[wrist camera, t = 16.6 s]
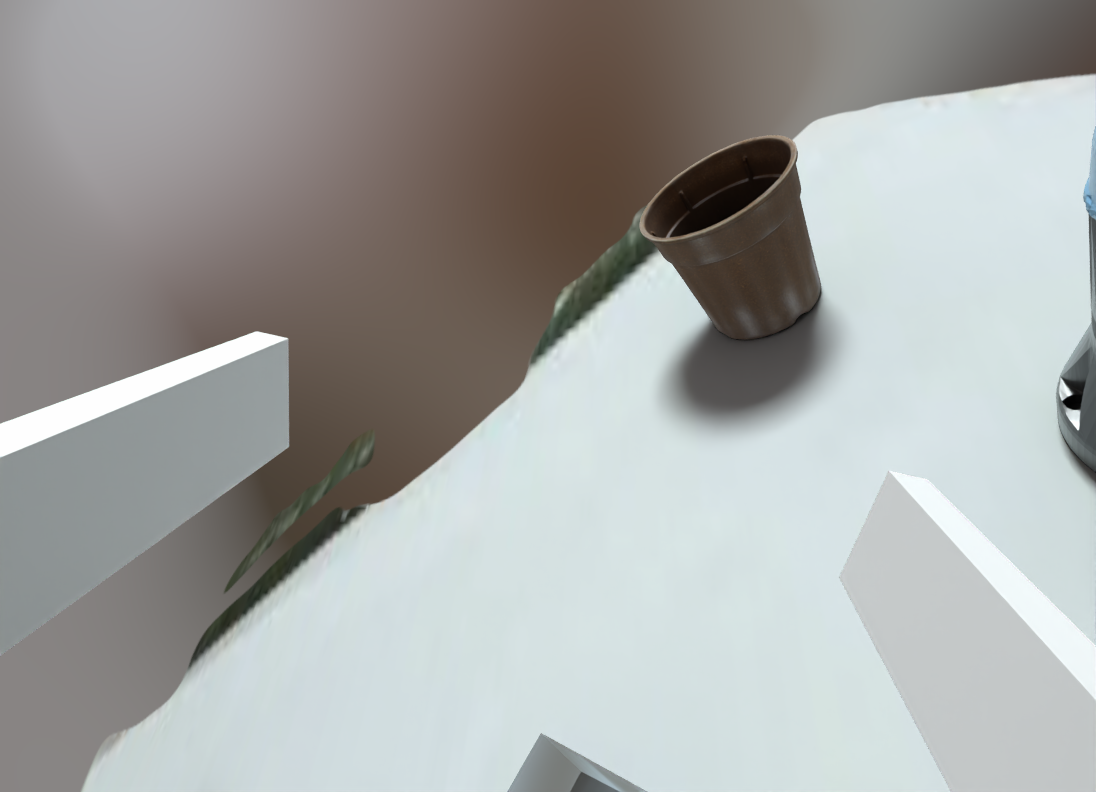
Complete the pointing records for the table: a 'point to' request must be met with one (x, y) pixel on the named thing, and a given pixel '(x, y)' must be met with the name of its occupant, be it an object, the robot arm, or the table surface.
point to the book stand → (565, 772)
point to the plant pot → (739, 236)
